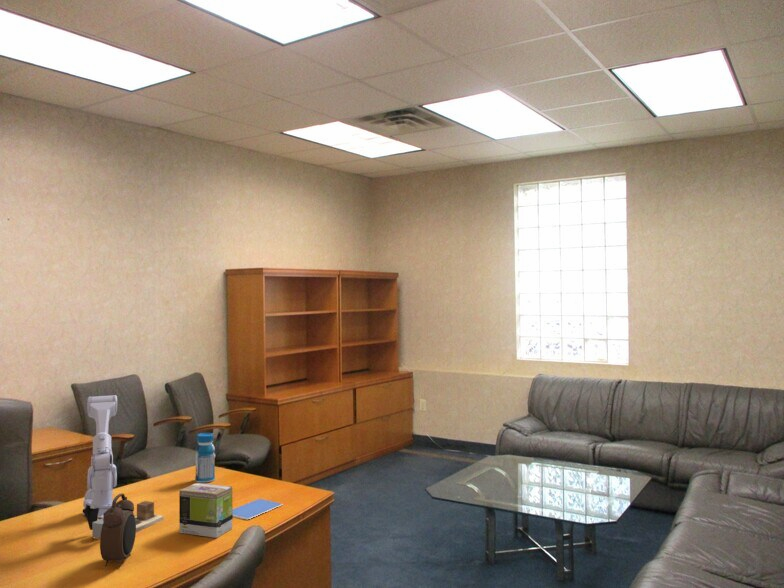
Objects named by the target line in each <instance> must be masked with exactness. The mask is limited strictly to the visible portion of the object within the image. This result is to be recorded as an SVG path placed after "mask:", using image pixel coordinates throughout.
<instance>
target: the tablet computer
mask: <svg viewBox="0 0 784 588" xmlns="http://www.w3.org/2000/svg"><path fill="white" fill-rule="evenodd" d="M281 505H283V506H284V504H283V503H280V502H275V501H273V500H272V501H271V500H268V499H262V498H257V499H255V500H252V501H250V502H247V503H245V504H242V505H240V506H237V507H235V508H233V514H232V515H233V518H235V517H236V519H239V518H240V520H243V519H246V520H245V521H249V520H248V519H250V520H252V519H251V518H253V517H255V518H257V517H259V516H258V515H260V514H262V513H264V514H266V513H265V512H267V513H269V512H271V511H273V510H272V509H274V508H276V507H279V506H281ZM281 507H282V506H281ZM279 508H280V507H279ZM276 509H277V508H276ZM270 510H271V511H270ZM274 510H275V509H274ZM268 511H269V512H268ZM262 515H263V514H262ZM256 516H257V517H256ZM260 516H261V515H260ZM253 519H254V518H253Z"/></svg>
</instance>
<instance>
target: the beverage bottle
mask: <svg viewBox="0 0 784 588" xmlns="http://www.w3.org/2000/svg"><path fill="white" fill-rule="evenodd" d="M196 441H197V443H198V444H197V445H196V447H195V450H194V451H195V456H194V459H195V476H194V477H195V479H194V480H195V483H203V484H208V483H211V482H214V481H215V479H216V474H215V473H216V472H215V469H216V468H215V467H216V466H215V464H216V463H215V462H216V460H215V459H216V453H215V451H216V447H215V445H214V444H213V442H214V433H211V432H202V433H198V434H197V435H196Z"/></svg>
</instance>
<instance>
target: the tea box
mask: <svg viewBox="0 0 784 588" xmlns="http://www.w3.org/2000/svg"><path fill="white" fill-rule="evenodd" d="M178 491H179V496H178V497H179V508H178V509H179V511H178V512H179V517H178V518H179V522H178V524H179V525H178V526H179V530H178V531H179V533H180V534H187V535H194V536H201V537H207V538H213V539H214V538H215V539H218V538H219V537H221V536H223V535H224V534H226V533H227V532H229V531H231V530H233V518H234V517H233V515H232V514H233V509H234V508H233V486H231V485H225V484H224V485H222V484H212V483H199V482H195V483H193V484H190V485H188V486H187V487H184V488H181V489H179V490H178Z"/></svg>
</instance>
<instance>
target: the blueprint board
mask: <svg viewBox="0 0 784 588" xmlns="http://www.w3.org/2000/svg"><path fill="white" fill-rule="evenodd" d="M134 516H135V520H136V533H137V532H140V531H142V530H144V529H146V528H148V527H150V526H153V525H154V524H156V523H159V522H161V521H164V517H165V516H164V515H159V514H154V516H153V517H151V518H149V519H147V520H143V519H137V514H134Z"/></svg>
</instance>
